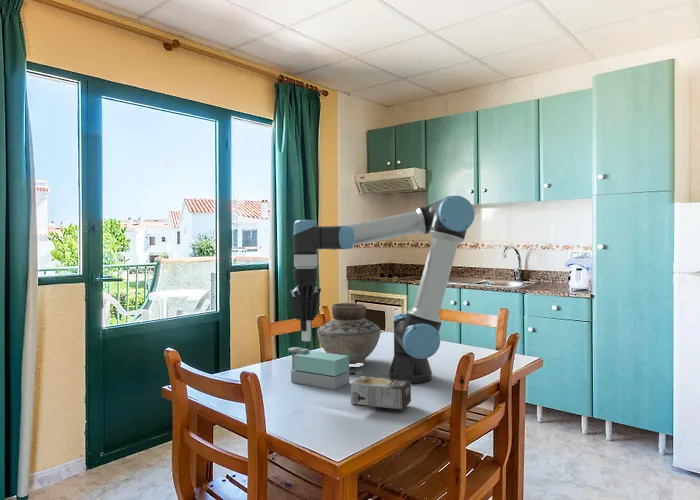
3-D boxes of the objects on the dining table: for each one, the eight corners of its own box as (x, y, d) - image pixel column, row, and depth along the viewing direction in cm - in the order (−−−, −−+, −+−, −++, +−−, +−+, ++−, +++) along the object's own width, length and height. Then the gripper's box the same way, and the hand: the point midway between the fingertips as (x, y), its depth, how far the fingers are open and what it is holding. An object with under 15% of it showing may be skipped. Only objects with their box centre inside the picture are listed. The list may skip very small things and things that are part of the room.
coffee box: (360, 375, 149) (411, 379, 143) (360, 395, 149) (411, 401, 143) (350, 383, 140) (403, 388, 135) (350, 404, 140) (404, 410, 135)
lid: (348, 370, 163) (348, 352, 163) (335, 376, 155) (334, 357, 155) (297, 362, 174) (297, 345, 174) (282, 367, 167) (282, 350, 167)
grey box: (349, 383, 163) (349, 355, 163) (335, 389, 155) (335, 360, 155) (300, 375, 174) (300, 349, 174) (284, 381, 166) (284, 353, 166)
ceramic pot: (390, 361, 194) (390, 303, 194) (364, 376, 172) (363, 310, 172) (336, 355, 205) (336, 300, 205) (305, 368, 183) (305, 306, 183)
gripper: (309, 266, 162) (310, 336, 162) (283, 268, 152) (283, 342, 152) (327, 267, 158) (327, 338, 158) (300, 268, 147) (301, 345, 147)
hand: (306, 340), depth 155 cm, fingers closed
